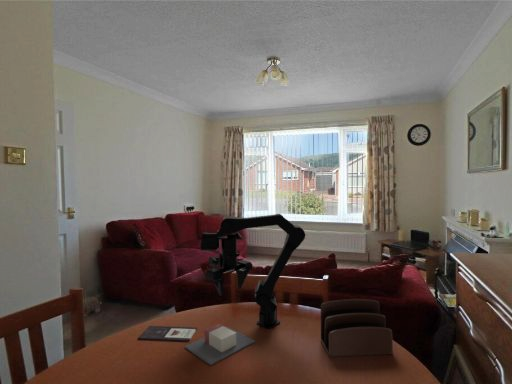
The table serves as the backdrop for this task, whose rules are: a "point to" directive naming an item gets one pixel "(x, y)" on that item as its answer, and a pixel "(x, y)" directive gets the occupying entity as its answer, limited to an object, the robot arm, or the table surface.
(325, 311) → the letter holder
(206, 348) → the mat
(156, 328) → the chocolate bar
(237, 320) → the table surface
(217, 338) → the card box
